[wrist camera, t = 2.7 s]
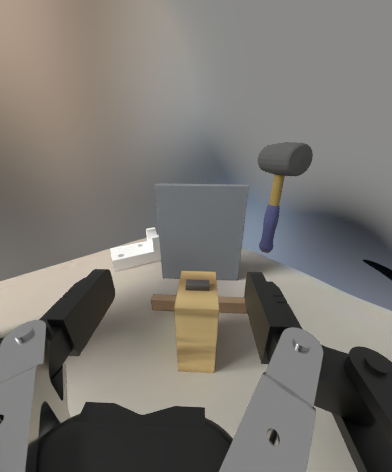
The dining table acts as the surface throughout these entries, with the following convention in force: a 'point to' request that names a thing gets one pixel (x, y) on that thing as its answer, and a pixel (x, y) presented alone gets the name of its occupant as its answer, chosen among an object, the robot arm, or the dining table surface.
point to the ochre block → (196, 321)
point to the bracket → (137, 252)
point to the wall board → (201, 235)
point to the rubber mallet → (280, 179)
